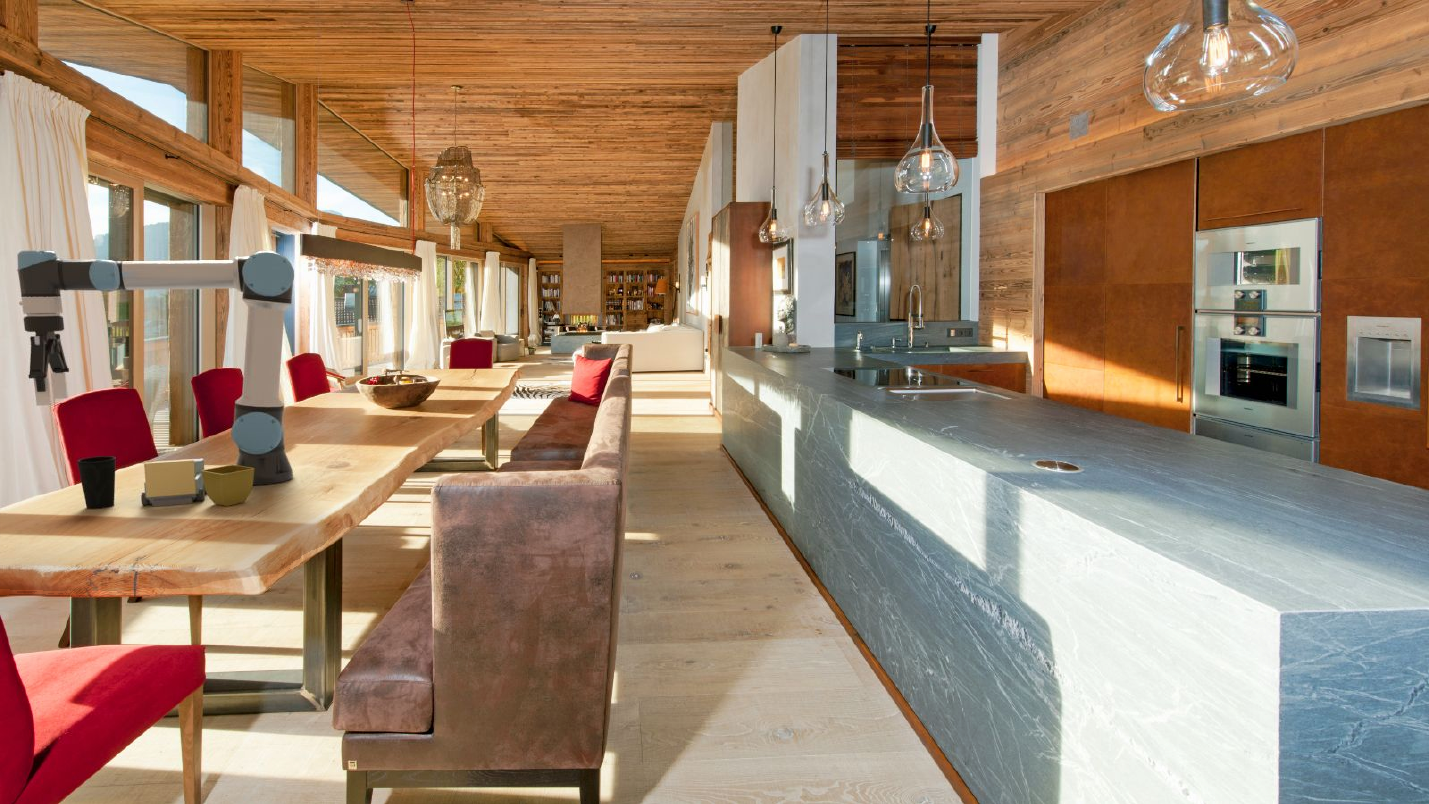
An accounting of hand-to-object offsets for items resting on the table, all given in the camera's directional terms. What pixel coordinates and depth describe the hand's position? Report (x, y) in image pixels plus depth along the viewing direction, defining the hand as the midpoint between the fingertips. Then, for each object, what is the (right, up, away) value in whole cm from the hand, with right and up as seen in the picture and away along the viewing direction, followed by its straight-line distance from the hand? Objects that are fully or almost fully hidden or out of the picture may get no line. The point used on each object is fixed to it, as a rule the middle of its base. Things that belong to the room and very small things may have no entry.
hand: (52, 401), depth 204 cm
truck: (+23, -25, +11) cm, 36 cm away
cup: (+9, -26, +4) cm, 28 cm away
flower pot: (+39, -26, +8) cm, 48 cm away
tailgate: (+26, -24, +5) cm, 36 cm away
